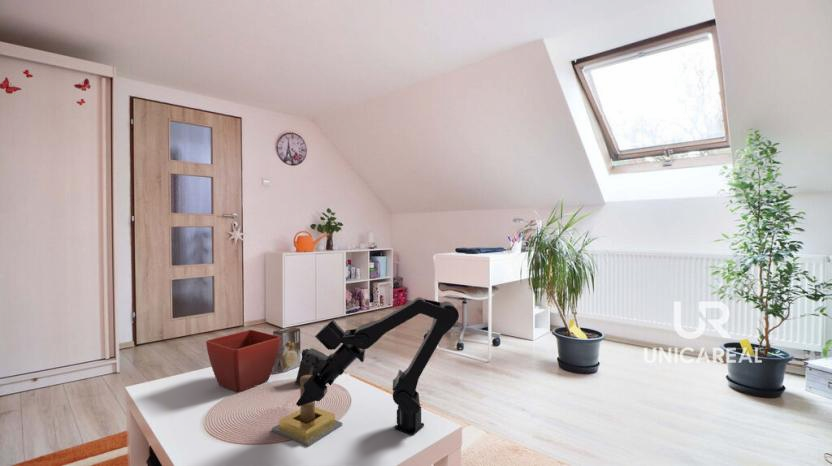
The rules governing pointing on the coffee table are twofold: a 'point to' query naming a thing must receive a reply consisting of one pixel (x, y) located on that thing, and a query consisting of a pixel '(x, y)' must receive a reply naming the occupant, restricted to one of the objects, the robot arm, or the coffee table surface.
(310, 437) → the socket
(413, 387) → the robot arm
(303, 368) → the phone stand
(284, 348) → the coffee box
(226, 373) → the plant pot
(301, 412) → the pin
